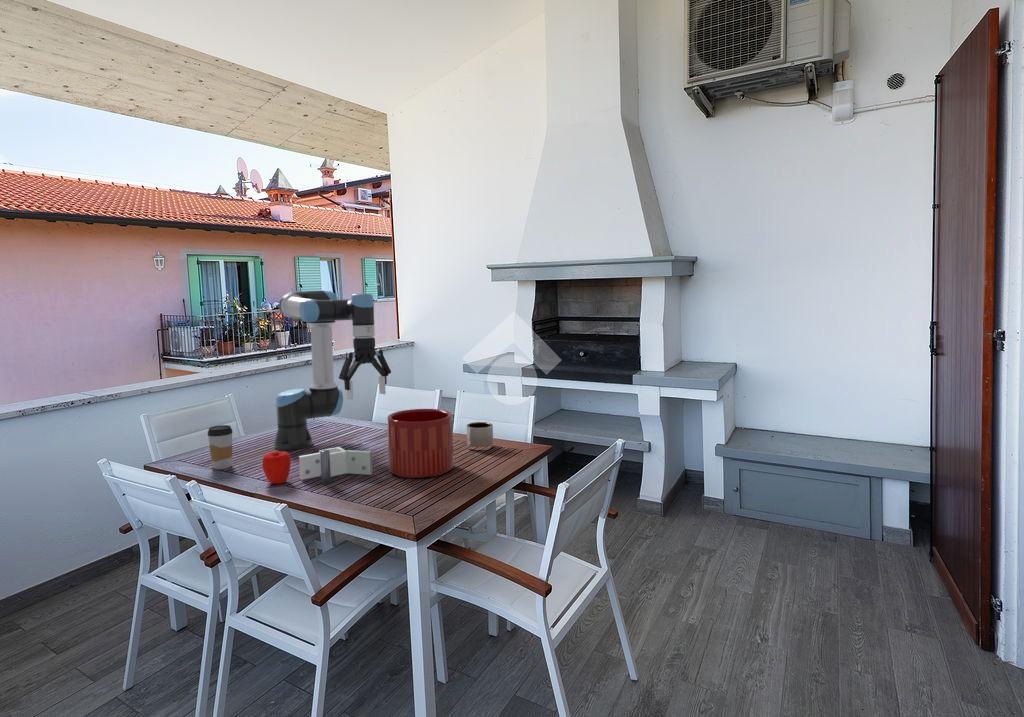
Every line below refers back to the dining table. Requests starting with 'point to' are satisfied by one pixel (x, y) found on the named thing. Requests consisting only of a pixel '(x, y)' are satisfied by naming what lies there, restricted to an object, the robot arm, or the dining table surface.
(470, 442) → the planter
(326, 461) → the pin
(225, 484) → the dining table surface
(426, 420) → the planter
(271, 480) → the apple
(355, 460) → the loose leaf
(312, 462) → the fixed hinge
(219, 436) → the coffee cup
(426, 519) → the dining table surface
